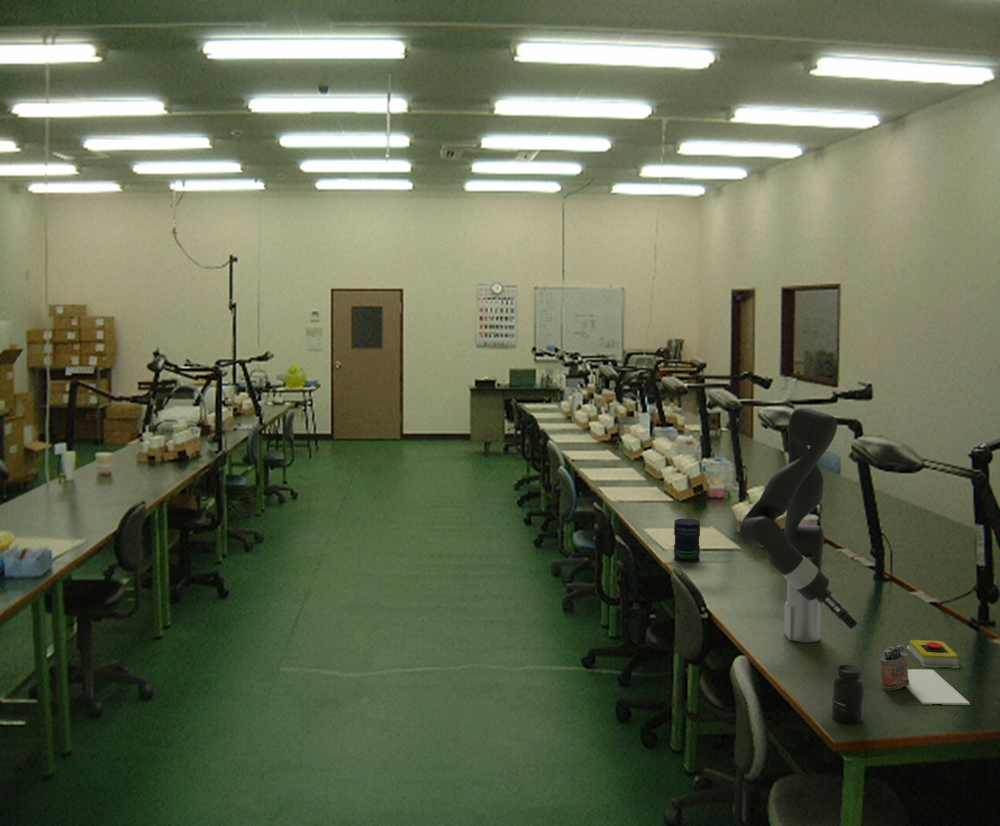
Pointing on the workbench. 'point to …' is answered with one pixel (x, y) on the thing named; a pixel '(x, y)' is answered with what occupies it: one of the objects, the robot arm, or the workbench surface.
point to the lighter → (894, 668)
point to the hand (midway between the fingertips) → (853, 625)
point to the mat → (933, 688)
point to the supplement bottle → (847, 695)
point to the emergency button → (933, 653)
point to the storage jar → (686, 540)
